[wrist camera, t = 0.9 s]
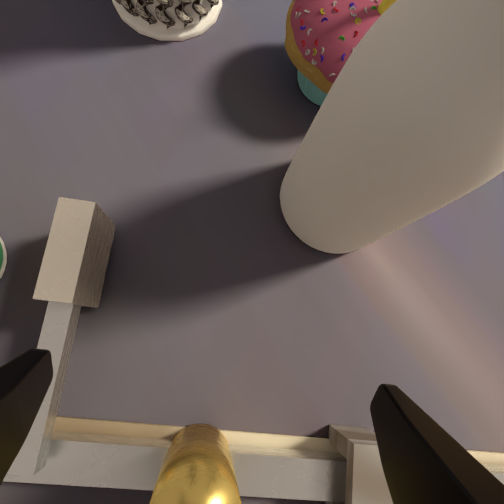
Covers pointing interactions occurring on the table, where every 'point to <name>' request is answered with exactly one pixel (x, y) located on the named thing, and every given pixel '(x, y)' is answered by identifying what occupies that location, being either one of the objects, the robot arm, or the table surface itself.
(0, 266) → the supplement bottle
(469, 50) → the milk bottle
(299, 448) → the track
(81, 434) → the rod
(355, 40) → the cupcake
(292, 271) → the table surface
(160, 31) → the leaning tower model
